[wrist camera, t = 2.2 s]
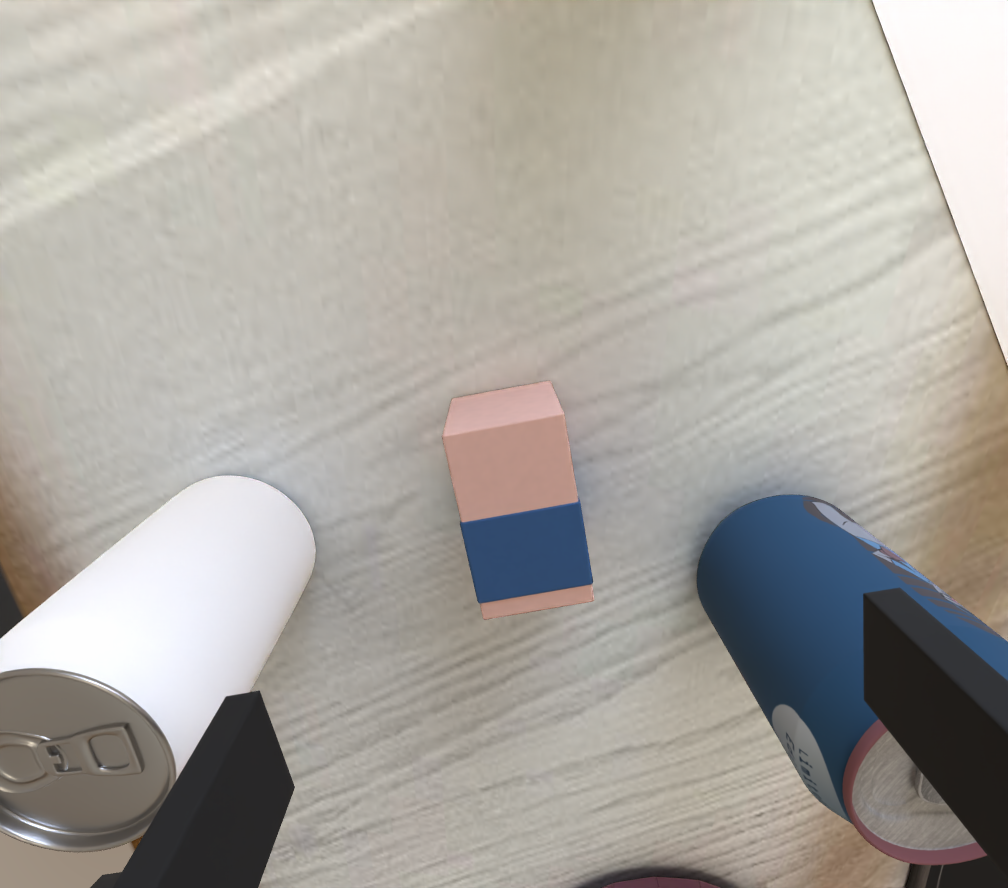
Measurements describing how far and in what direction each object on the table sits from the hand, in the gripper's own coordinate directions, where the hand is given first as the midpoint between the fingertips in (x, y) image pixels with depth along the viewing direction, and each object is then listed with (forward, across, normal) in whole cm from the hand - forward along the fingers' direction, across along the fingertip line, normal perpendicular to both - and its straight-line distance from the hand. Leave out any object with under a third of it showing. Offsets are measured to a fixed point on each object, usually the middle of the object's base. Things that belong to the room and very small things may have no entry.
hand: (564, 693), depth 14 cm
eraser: (+13, -1, 0) cm, 13 cm away
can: (+13, -13, -1) cm, 18 cm away
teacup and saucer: (+13, +26, +10) cm, 31 cm away
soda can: (+13, +9, -6) cm, 17 cm away
